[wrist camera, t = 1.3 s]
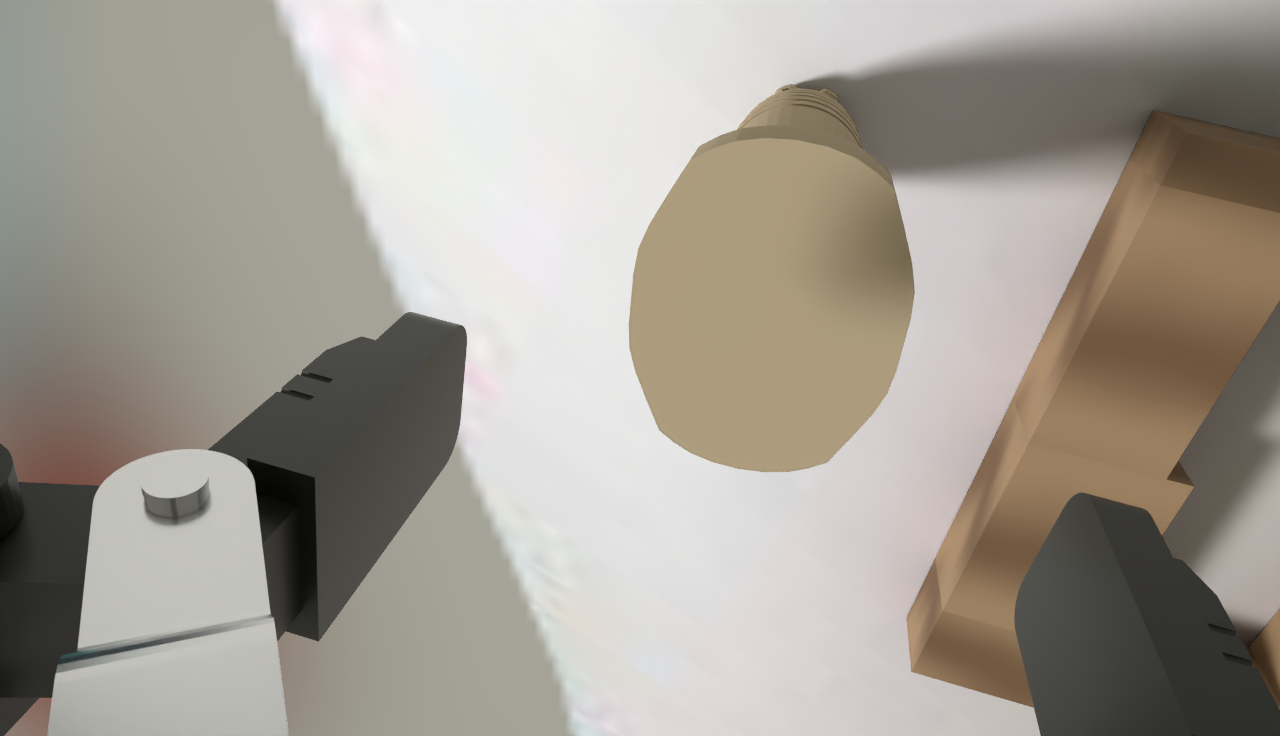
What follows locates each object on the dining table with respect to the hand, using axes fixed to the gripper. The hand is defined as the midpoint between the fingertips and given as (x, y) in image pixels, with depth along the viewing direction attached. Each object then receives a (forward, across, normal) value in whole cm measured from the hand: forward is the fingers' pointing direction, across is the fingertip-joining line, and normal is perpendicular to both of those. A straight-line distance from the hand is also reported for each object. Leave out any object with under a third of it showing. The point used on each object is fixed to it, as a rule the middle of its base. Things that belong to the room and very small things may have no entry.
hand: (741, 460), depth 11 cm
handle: (+20, 0, 0) cm, 20 cm away
